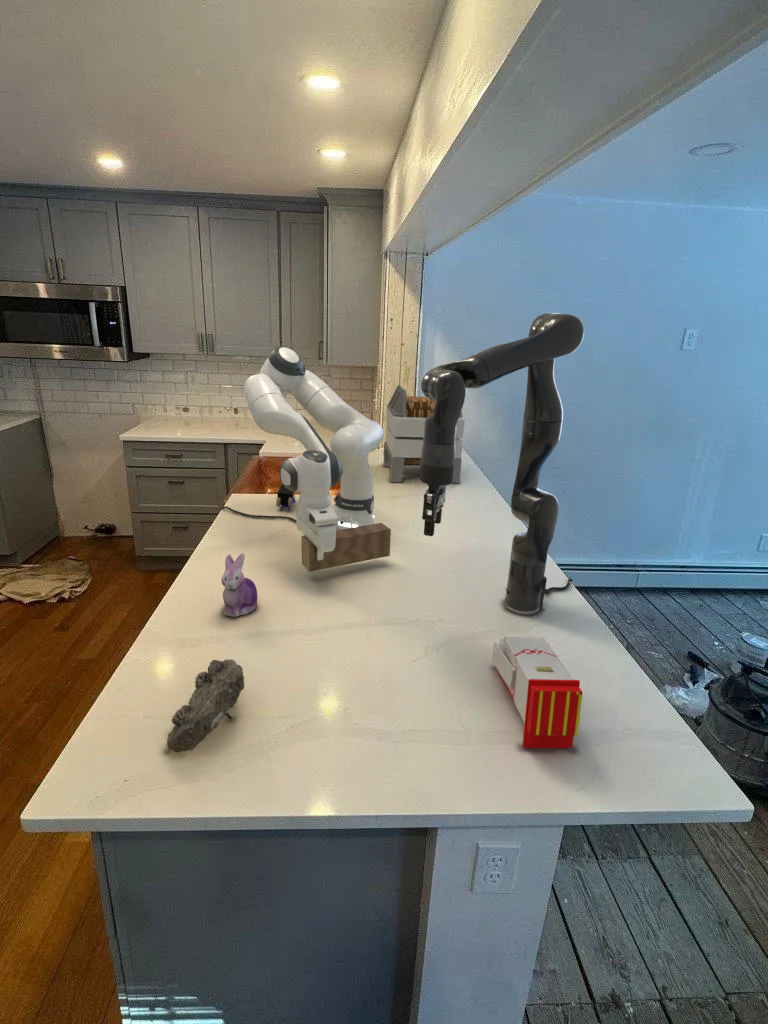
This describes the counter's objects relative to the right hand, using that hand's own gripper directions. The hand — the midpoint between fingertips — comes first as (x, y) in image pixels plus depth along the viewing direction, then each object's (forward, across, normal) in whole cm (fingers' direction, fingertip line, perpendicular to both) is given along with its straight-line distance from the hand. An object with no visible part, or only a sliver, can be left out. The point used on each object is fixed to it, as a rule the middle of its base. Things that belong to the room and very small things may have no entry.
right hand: (432, 528), depth 132 cm
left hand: (+20, +18, +37) cm, 45 cm away
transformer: (+27, +139, +32) cm, 145 cm away
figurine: (+27, -7, +47) cm, 55 cm away
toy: (+27, -20, -26) cm, 42 cm away
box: (+24, +25, +29) cm, 45 cm away
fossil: (+27, -45, +32) cm, 61 cm away
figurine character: (+27, +70, +70) cm, 103 cm away
